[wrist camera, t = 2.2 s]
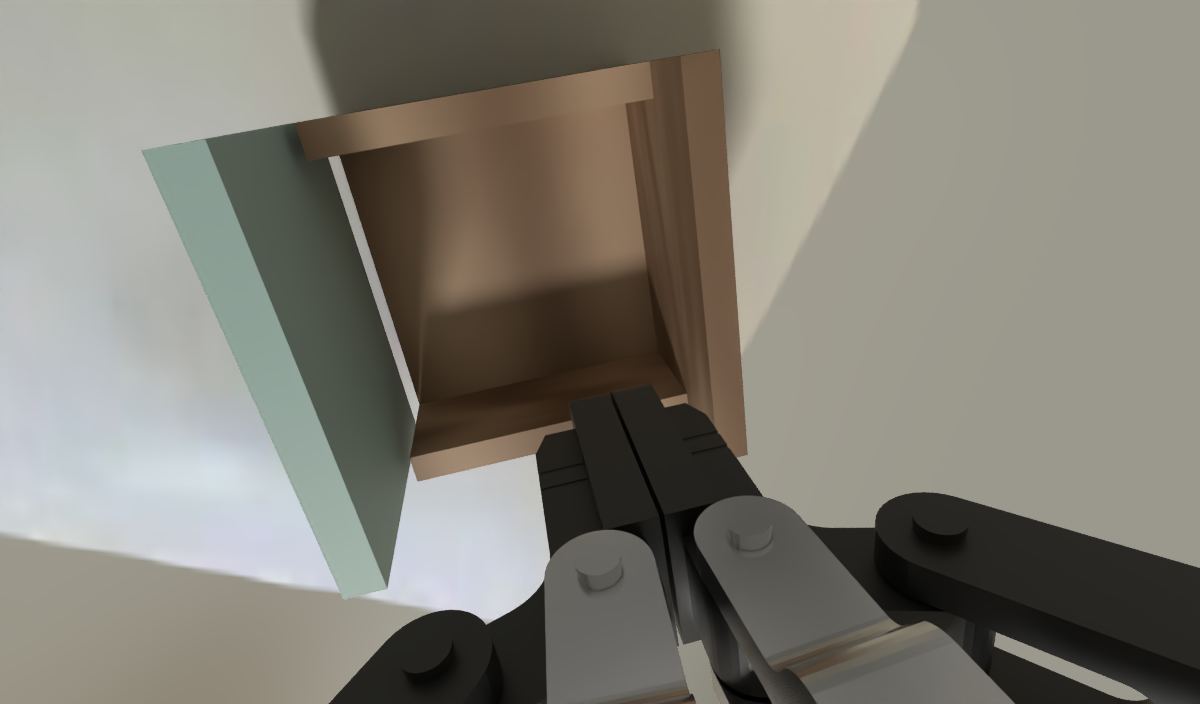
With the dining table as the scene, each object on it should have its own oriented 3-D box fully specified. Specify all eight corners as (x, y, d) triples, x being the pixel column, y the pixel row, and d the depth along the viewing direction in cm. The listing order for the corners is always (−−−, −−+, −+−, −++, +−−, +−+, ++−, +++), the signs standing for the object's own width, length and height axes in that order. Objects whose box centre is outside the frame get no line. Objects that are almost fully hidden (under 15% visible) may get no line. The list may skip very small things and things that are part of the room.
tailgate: (389, 427, 26) (343, 599, 17) (282, 125, 21) (141, 150, 12) (417, 420, 26) (387, 588, 17) (319, 118, 21) (204, 139, 12)
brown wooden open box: (431, 392, 28) (408, 537, 19) (344, 114, 23) (258, 129, 14) (663, 341, 29) (747, 454, 20) (629, 64, 24) (719, 49, 15)
